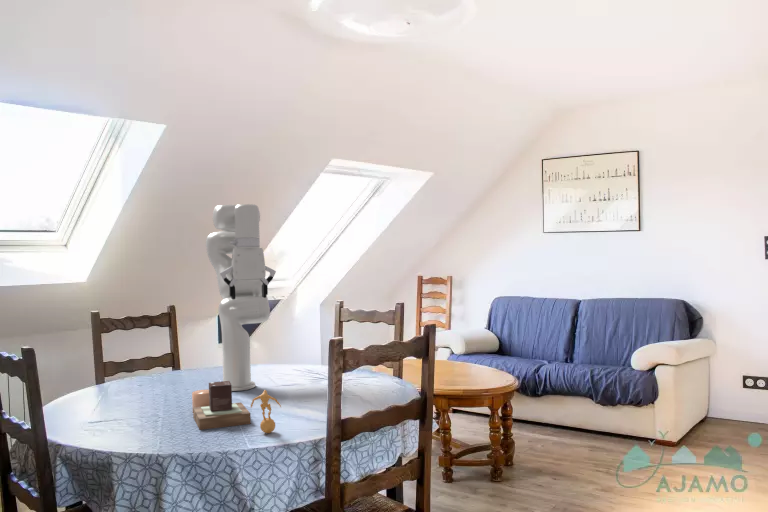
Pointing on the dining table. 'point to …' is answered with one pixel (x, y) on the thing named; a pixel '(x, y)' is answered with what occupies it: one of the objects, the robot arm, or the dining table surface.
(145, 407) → the dining table surface
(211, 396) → the box
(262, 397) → the figurine
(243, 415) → the stand
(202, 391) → the peach rounded block
